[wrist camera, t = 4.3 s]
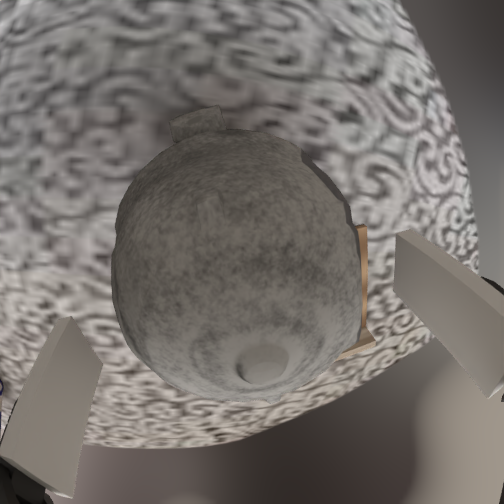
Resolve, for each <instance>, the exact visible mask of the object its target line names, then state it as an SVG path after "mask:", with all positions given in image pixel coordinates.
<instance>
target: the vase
mask: <svg viewBox="0 0 504 504" xmlns="http://www.w3.org/2000/svg"><path fill="white" fill-rule="evenodd" d="M2 393H3V384H2V382H1V380H0V436H1V410H2Z"/></svg>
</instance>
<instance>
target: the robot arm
mask: <svg viewBox="0 0 504 504" xmlns="http://www.w3.org/2000/svg"><path fill="white" fill-rule="evenodd" d="M393 291H394V292H395V294H396V295H397V296H398V297H399V298H400V299H401V300H402V301H403V302H404V303H405V304H406V305H407V306H408V307H409V308H410V309H411V310H412V311H413V312H414V313H415V314H416V316H417V317H418V318H419V319H420V320H421V321H422V322H423V323H424V324H425V325H426V326H427V327H428V329H429V330H430V331H431V332H432V333H433V334H434V335H435V336H436V337H437V338H438V340H439V341H440V342H441V343H442V344H443V345H444V346H445V348H446V349H448V351H449V352H450V353H451V354H452V356H453V357H454V358H455V359H456V360H457V362H458V363H459V364H460V365H461V366H462V368H463V369H464V370H465V371H466V372H467V373H468V375H469V376H470V377H471V378H472V380H473V381H474V382H475V383H476V385H477V386H478V387H479V388H480V390H481V391H482V392H483V393H484V395H485V396H486V397H487V399H489V398H490V397H491V396H493V395H494V394H495V393H496V392H497V391H499V390H500V389H501V388H502V387H503V385H504V289H503V288H502V287H501V286H499V285H498V284H497V283H495V282H494V281H491V280H489V279H487V278H484V277H480V276H478V275H477V274H476V273H474V272H473V271H472V270H470V269H469V268H467V267H466V266H465V265H463V264H462V263H460V262H459V261H458V260H456V259H455V258H453V257H452V256H451V255H449V254H448V253H446V252H445V251H443V250H442V249H440V248H439V247H437V246H436V245H434V244H433V243H431V242H430V241H428V240H427V239H425V238H424V237H422V236H421V235H419V234H417V233H416V232H414V231H413V230H411V229H409V230H406V231H402V232H399V233H396V249H395V271H394V286H393ZM102 366H103V363H102V362H101V361H100V359H99V358H98V356H97V355H96V353H95V352H94V350H93V349H92V347H91V346H90V344H89V343H88V341H87V340H86V338H85V337H84V335H83V334H82V332H81V330H80V329H79V327H78V326H77V324H76V322H75V321H74V319H73V317H72V316H70V317H66V318H61V319H58V321H57V323H56V324H55V326H54V328H53V330H52V331H51V333H50V335H49V337H48V339H47V341H46V342H45V344H44V346H43V348H42V350H41V352H40V354H39V356H38V358H37V360H36V362H35V364H34V366H33V368H32V370H31V372H30V374H29V376H28V378H27V380H26V382H25V385H24V387H23V389H22V391H21V393H20V396H19V398H18V399H17V401H16V402H15V404H14V407H13V409H12V412H11V416H10V417H9V419H8V424H6V427H5V430H4V433H3V436H2V438H1V441H0V504H53V501H52V499H51V498H50V496H49V495H48V494H46V493H45V489H46V488H47V489H48V490H50V491H52V492H53V493H55V494H57V495H60V496H64V497H68V498H72V499H73V498H74V490H75V483H76V477H77V470H78V464H79V459H80V454H81V449H82V444H83V439H84V434H85V430H86V425H87V421H88V417H89V413H90V409H91V405H92V401H93V397H94V394H95V390H96V387H97V383H98V380H99V376H100V373H101V369H102ZM501 402H504V394H503V396H502V400H501ZM499 504H504V484H503V489H502V493H501V498H500V502H499Z"/></svg>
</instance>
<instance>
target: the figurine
mask: <svg viewBox="0 0 504 504" xmlns="http://www.w3.org/2000/svg"><path fill="white" fill-rule="evenodd" d="M169 123H170V128H171V133H172V138H173V141H174V142H175V143H176V144H175V145H173V146H171V147H169V148H168V149H166V150H164V151H163V152H161V153H160V154H159V155H158V156H156V157H155V158H154V159H153V160H152V161H151V162H150V163H149V164H147V165H146V166H145V167H144V168H143V169H142V170H141V171H140V172H139V174H138V175H137V176H136V178H135V179H134V180H133V182H132V183H131V185H130V186H129V187H128V189H127V191H126V193H125V195H124V197H123V199H122V201H121V203H120V205H119V209H118V213H117V218H116V223H115V230H116V234H117V237H116V244H115V248H114V251H113V253H112V262H111V286H112V300H113V305H114V308H115V311H116V315H117V318H118V321H119V325H120V328H121V330H122V333H123V335H124V338H125V340H126V342H127V345H128V346H129V348H130V349H131V350H132V352H133V353H134V354H135V355H136V357H137V358H138V359H140V360H141V361H142V362H143V363H144V364H145V365H147V366H148V367H149V368H150V369H151V370H153V371H154V372H155V373H156V374H157V375H158V376H159V377H161V378H162V379H163V380H164V381H165V382H166V383H168V384H169V385H172V386H174V387H176V388H178V389H180V390H183V391H185V392H188V393H191V394H194V395H197V396H200V397H203V398H206V399H212V400H223V401H236V402H247V401H254V400H261V399H264V400H266V401H267V402H268V403H269V404H272V403H275V402H278V401H280V398H281V395H282V394H285V393H288V392H291V391H294V390H296V389H298V388H300V387H301V386H303V385H304V384H306V383H307V382H309V381H311V380H312V379H314V378H315V377H317V376H318V375H320V374H321V373H323V372H324V371H326V370H327V369H328V368H329V367H330V366H331V365H332V363H333V362H334V361H335V360H336V359H337V358H338V357H339V356H340V354H341V353H342V352H343V351H345V350H346V349H348V348H350V347H351V346H353V345H354V344H356V343H357V342H359V339H360V334H361V328H362V307H363V302H362V270H361V252H360V243H359V234H358V230H357V229H356V227H355V226H354V224H353V223H352V216H351V209H350V206H349V204H348V203H347V201H346V200H345V198H344V197H343V195H342V194H341V192H340V191H339V189H338V188H337V187H336V185H335V184H334V183H333V181H332V180H331V179H330V177H329V176H328V175H326V174H325V173H324V172H323V171H322V170H321V169H319V168H318V167H317V166H316V165H315V164H314V163H313V162H312V159H311V157H310V156H309V155H307V154H306V153H305V152H304V151H303V150H302V149H301V148H299V147H297V146H296V145H294V144H292V143H290V142H288V141H286V140H284V139H281V138H279V137H276V136H273V135H270V134H267V133H262V132H256V131H249V130H241V129H231V130H227V128H226V126H225V123H224V120H223V117H222V114H221V110H220V107H219V105H216V106H212V107H208V108H204V109H201V110H197V111H194V112H191V113H188V114H185V115H182V116H179V117H176V118H175V119H173V120H170V122H169Z"/></svg>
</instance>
